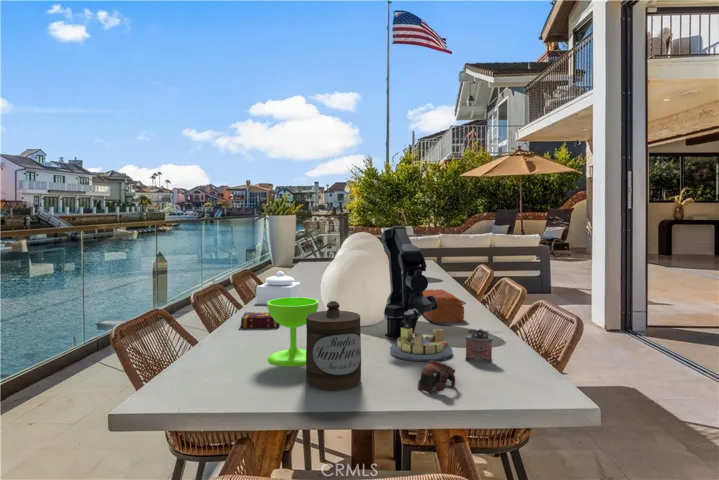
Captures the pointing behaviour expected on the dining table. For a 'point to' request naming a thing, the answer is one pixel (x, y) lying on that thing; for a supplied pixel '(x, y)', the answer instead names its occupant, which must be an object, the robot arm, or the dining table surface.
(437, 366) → the brown leather rounded piece
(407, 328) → the tan segmented ring
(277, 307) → the wineglass
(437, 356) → the grey round tray
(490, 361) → the lighter
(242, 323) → the decorative book
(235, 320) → the dining table surface
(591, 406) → the dining table surface
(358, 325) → the wooden container
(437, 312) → the bread
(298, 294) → the white lidded box
